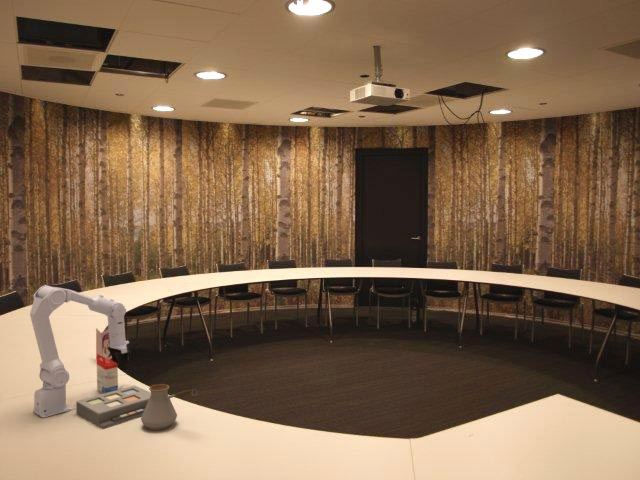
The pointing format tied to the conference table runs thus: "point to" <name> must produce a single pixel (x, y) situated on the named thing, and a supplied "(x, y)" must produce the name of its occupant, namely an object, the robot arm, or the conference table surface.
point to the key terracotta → (130, 399)
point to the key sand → (113, 397)
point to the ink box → (106, 375)
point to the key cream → (113, 404)
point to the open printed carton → (103, 344)
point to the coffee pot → (160, 408)
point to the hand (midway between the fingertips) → (120, 366)
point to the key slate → (129, 392)
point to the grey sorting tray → (116, 414)
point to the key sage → (95, 401)
